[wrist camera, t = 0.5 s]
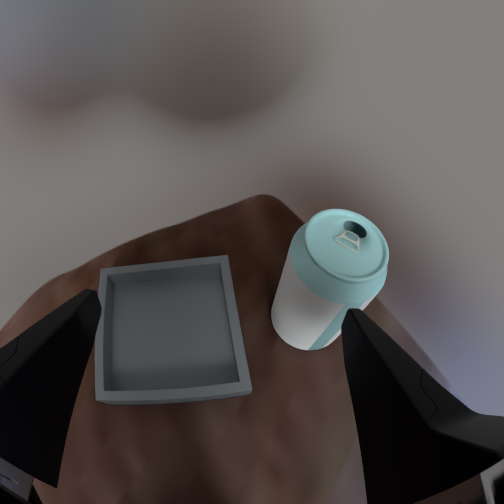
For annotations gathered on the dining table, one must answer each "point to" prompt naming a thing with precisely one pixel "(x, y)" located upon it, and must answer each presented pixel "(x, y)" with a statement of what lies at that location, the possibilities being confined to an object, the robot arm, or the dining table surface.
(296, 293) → the can
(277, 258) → the dining table surface
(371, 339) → the robot arm
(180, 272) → the bin
